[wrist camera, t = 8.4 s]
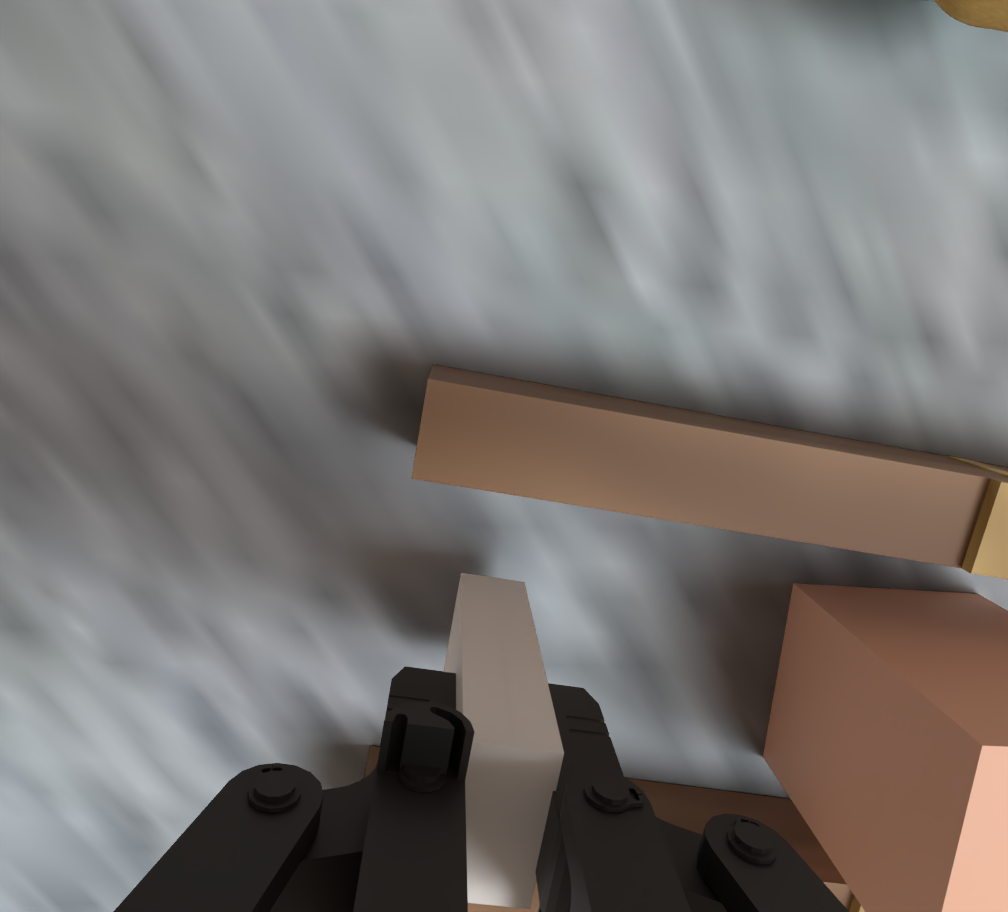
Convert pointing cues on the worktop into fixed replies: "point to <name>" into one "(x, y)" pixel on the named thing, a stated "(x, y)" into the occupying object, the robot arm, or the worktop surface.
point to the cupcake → (978, 12)
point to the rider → (898, 742)
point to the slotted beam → (712, 509)
